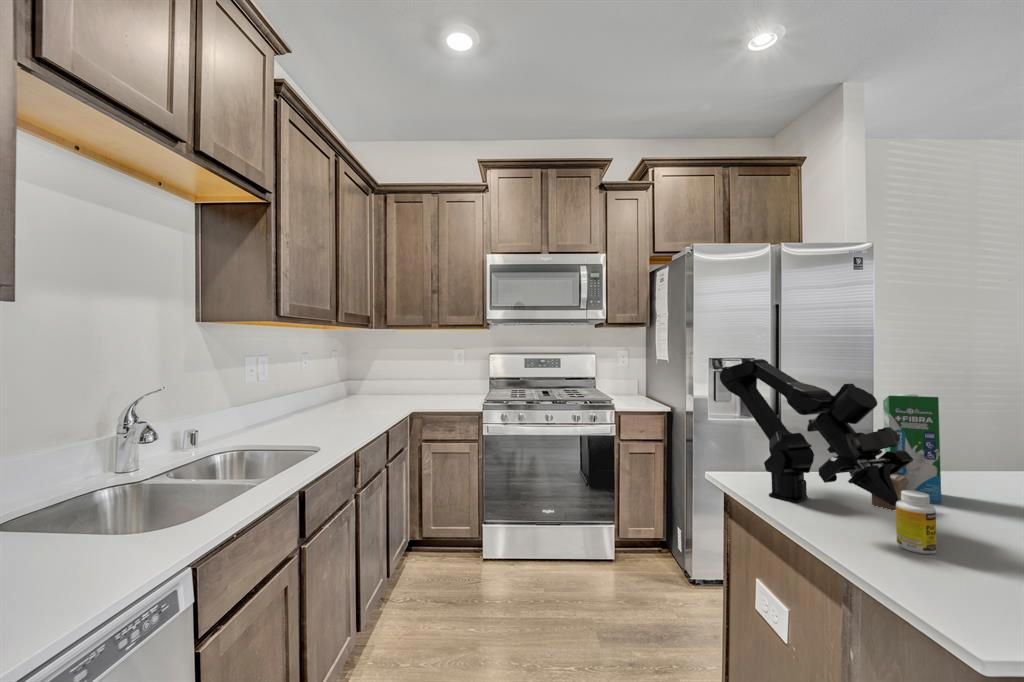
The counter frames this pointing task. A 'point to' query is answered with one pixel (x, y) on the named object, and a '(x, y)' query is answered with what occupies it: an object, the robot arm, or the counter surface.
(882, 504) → the brown rectangular block
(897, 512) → the supplement bottle
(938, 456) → the milk carton
